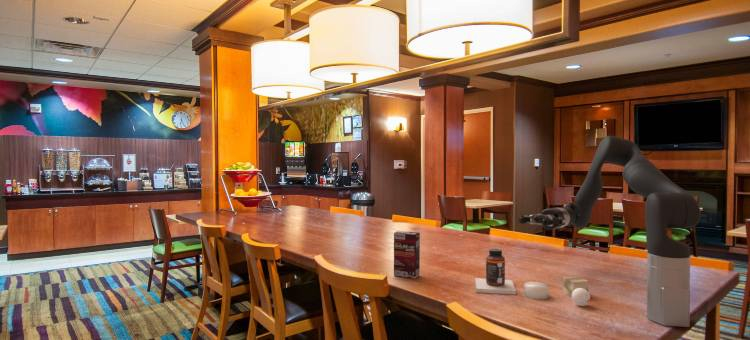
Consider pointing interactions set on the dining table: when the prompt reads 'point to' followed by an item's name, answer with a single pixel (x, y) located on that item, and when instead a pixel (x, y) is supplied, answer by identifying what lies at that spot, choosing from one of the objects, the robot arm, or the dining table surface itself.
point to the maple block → (573, 284)
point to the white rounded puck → (536, 290)
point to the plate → (494, 287)
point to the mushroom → (580, 296)
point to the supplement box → (406, 254)
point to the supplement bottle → (495, 268)
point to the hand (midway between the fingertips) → (531, 221)
